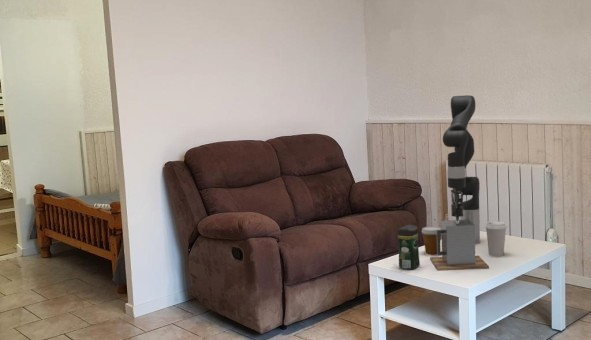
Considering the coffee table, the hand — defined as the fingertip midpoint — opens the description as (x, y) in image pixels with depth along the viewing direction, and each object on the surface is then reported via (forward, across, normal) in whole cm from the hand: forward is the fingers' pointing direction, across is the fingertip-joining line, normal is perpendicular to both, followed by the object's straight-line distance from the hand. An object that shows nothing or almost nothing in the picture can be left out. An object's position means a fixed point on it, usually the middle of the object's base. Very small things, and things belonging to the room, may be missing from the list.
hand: (457, 214), depth 270 cm
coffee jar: (+22, -2, +22) cm, 31 cm away
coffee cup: (+22, +13, -20) cm, 33 cm away
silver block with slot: (+21, 0, +1) cm, 21 cm away
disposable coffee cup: (+22, +20, +8) cm, 31 cm away
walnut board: (+22, 0, 0) cm, 22 cm away
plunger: (+15, 0, 0) cm, 15 cm away
